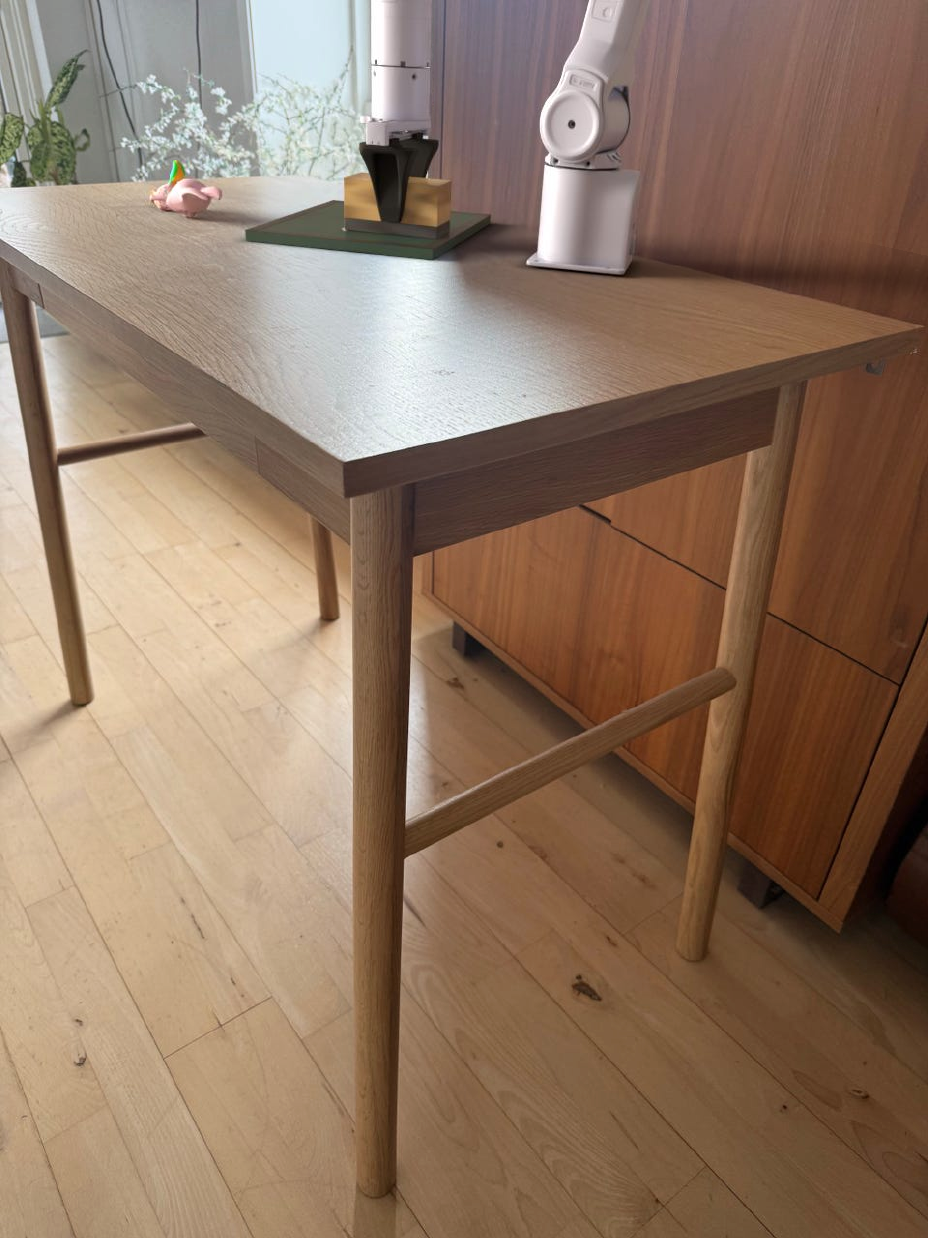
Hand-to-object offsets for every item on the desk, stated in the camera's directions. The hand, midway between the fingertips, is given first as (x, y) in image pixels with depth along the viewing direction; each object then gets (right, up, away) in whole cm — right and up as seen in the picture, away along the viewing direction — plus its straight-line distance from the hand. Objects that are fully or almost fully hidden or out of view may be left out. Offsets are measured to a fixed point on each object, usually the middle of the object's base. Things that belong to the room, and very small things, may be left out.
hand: (399, 217), depth 97 cm
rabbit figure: (-25, +4, +8) cm, 26 cm away
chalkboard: (-3, +1, +6) cm, 6 cm away
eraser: (0, -1, +1) cm, 1 cm away
